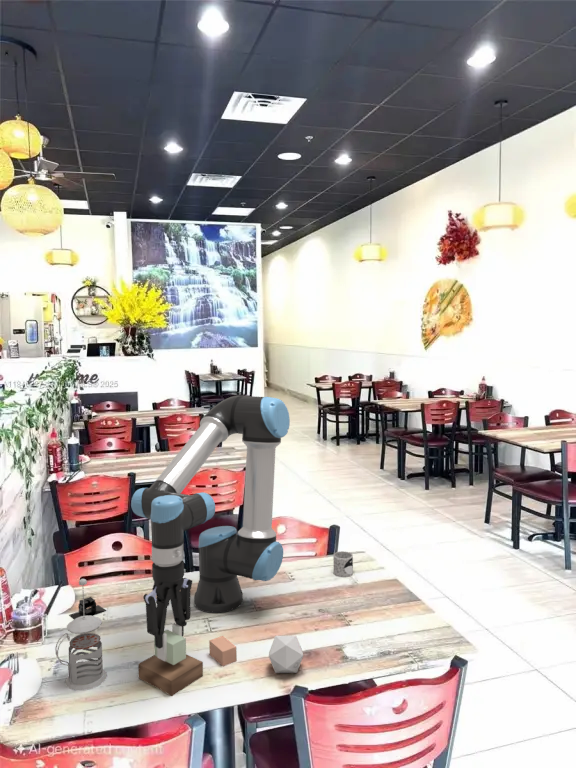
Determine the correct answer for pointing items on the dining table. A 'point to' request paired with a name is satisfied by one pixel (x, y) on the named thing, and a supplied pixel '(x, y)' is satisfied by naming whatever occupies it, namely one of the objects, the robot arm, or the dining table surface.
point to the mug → (343, 564)
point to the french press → (87, 671)
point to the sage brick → (174, 647)
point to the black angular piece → (90, 611)
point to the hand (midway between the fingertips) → (169, 654)
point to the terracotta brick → (222, 650)
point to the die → (285, 654)
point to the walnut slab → (170, 673)
